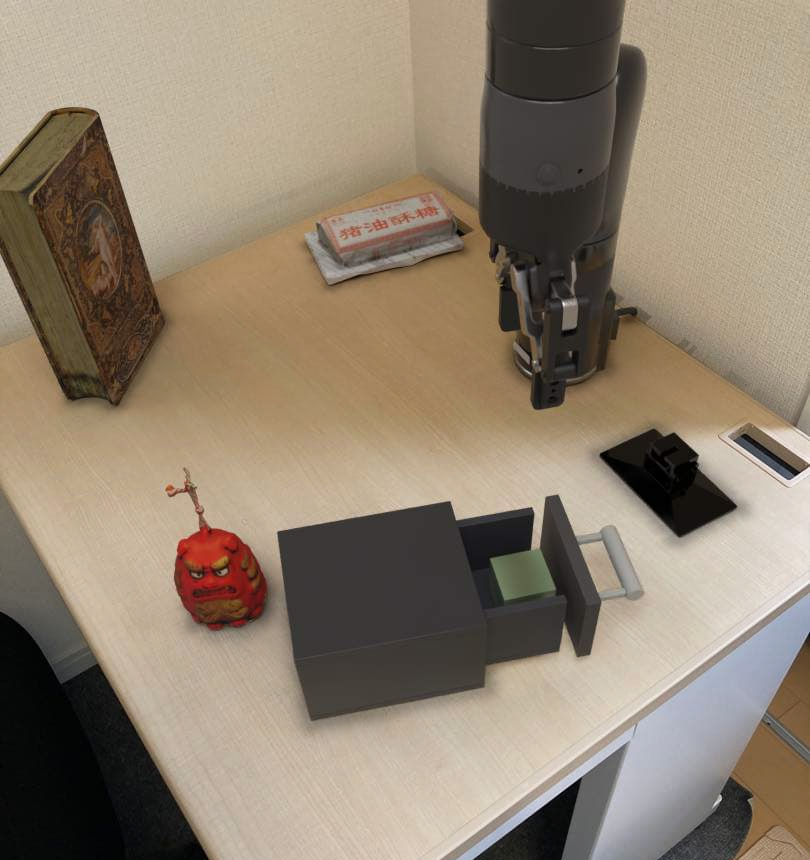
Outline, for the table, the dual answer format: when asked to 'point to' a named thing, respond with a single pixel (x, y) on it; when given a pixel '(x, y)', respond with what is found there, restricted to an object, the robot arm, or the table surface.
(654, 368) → the table surface
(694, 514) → the build plate
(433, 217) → the packaged product
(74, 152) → the book
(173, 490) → the red clay folk toy
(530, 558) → the block
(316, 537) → the cabinet
